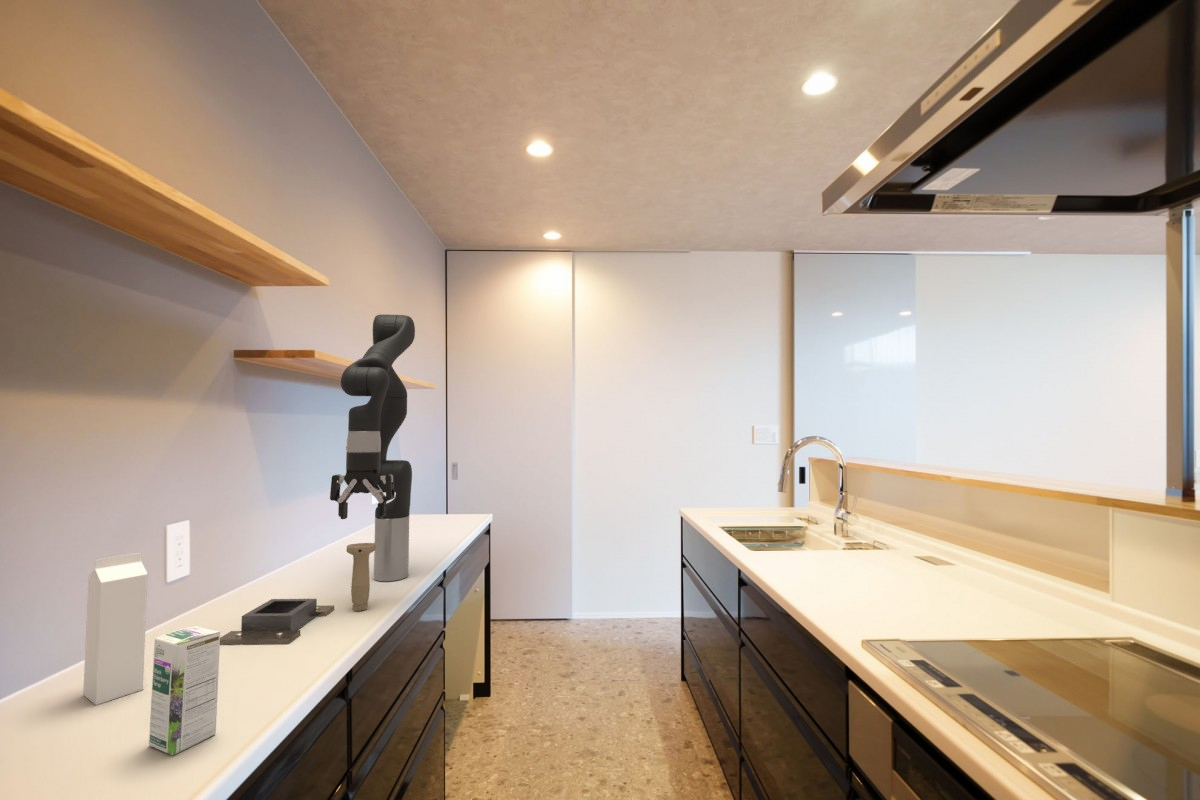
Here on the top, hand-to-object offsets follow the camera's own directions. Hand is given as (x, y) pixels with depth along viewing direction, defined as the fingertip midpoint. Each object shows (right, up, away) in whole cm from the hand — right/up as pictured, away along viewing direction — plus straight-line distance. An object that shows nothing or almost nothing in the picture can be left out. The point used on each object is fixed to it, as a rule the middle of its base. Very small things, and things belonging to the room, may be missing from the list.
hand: (362, 518), depth 129 cm
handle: (0, -21, -1) cm, 21 cm away
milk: (-23, -20, -41) cm, 51 cm away
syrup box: (-1, -19, -54) cm, 57 cm away
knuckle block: (-13, -21, -11) cm, 27 cm away
